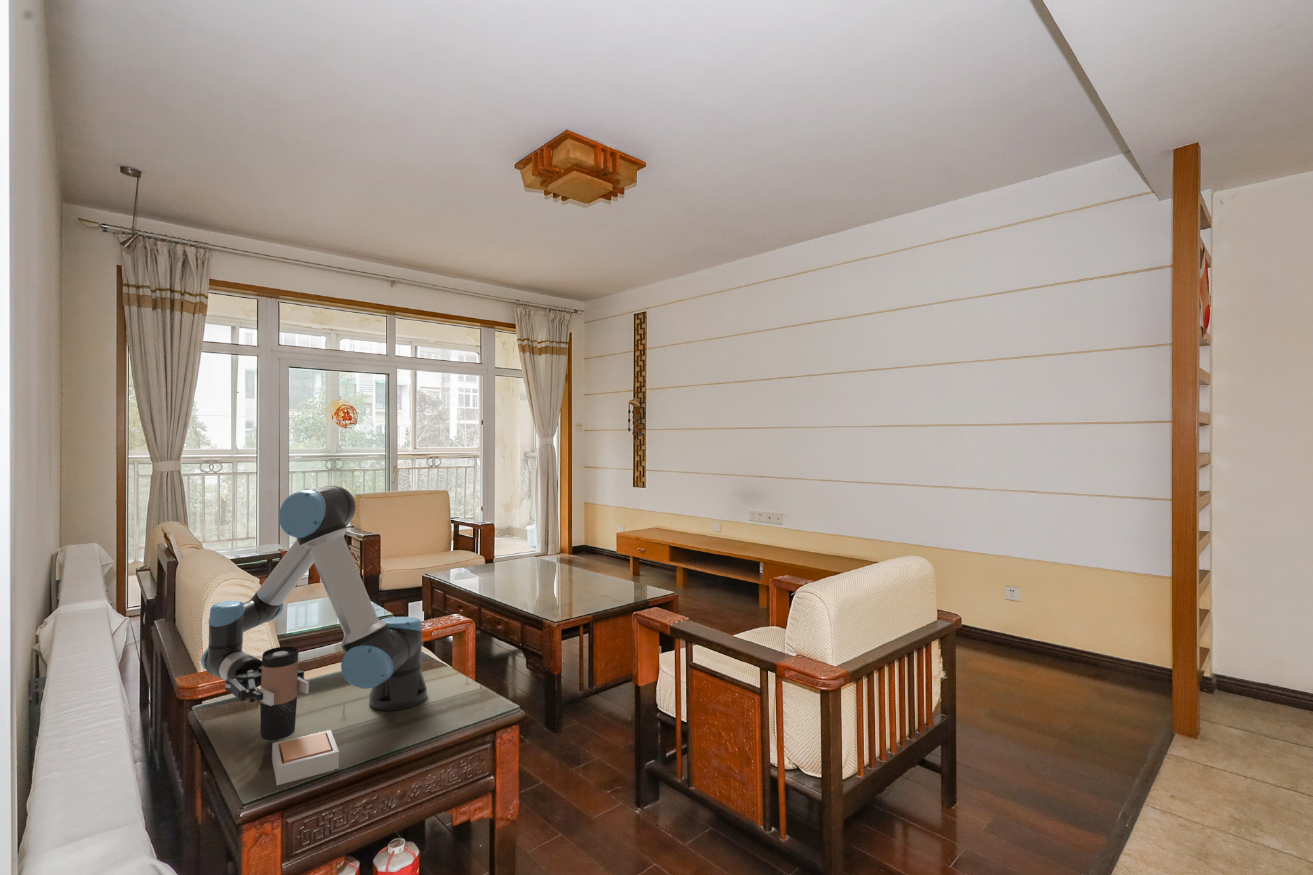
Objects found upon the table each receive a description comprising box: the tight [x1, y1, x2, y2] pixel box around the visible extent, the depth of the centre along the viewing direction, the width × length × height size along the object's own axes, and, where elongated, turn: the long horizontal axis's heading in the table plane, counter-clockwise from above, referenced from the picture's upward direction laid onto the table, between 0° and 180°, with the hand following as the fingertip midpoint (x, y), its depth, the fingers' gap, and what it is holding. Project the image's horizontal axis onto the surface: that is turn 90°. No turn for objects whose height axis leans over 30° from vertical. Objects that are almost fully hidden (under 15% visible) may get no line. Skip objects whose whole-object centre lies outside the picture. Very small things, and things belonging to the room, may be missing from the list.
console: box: [271, 729, 340, 786], centre depth 142 cm, size 12×12×4 cm
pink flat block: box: [280, 733, 331, 764], centre depth 142 cm, size 9×9×3 cm
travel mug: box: [259, 646, 299, 741], centre depth 150 cm, size 8×8×20 cm
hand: (290, 693), depth 148 cm, fingers closed on travel mug, 7 cm apart
